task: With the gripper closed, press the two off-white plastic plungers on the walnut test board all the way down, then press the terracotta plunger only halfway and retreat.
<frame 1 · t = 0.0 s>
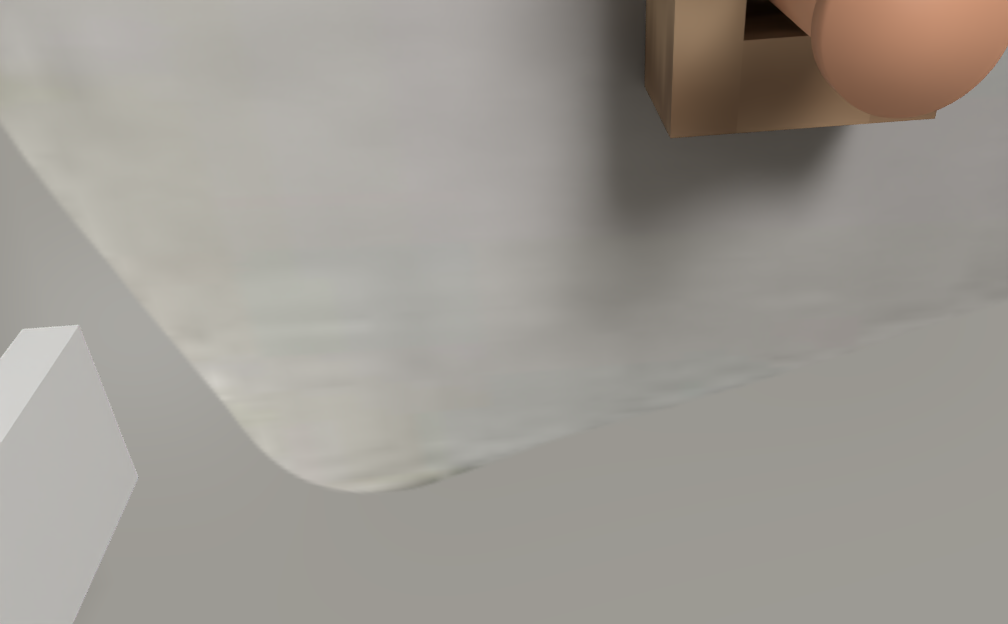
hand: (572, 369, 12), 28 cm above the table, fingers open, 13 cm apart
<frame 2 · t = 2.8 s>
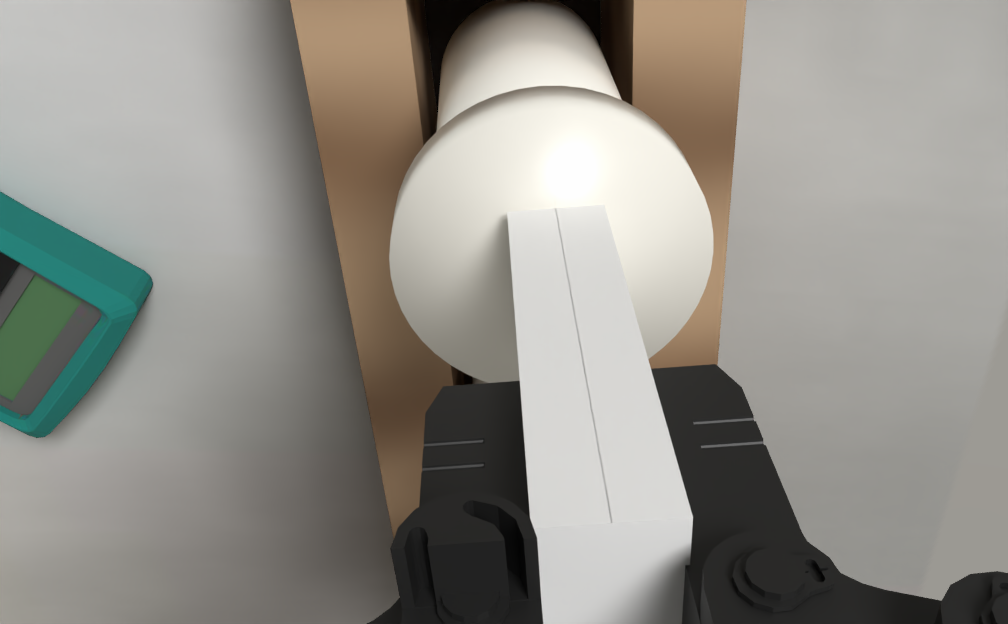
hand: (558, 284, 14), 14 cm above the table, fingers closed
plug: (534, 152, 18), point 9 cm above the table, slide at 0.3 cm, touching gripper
test board: (529, 288, 31), on the table
plug mid: (551, 484, 23), point 10 cm above the table, slide at 0.0 cm
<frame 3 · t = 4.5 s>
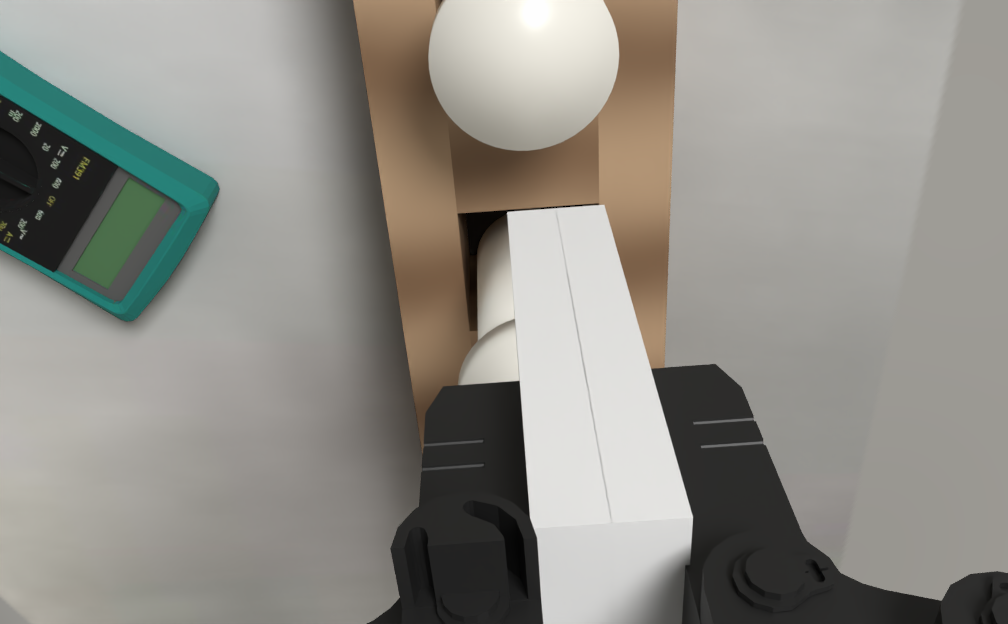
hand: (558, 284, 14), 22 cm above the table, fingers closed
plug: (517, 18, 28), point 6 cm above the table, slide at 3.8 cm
test board: (523, 199, 38), on the table
digital multimeter: (29, 145, 37), on the table
plug mid: (537, 322, 30), point 10 cm above the table, slide at 0.0 cm
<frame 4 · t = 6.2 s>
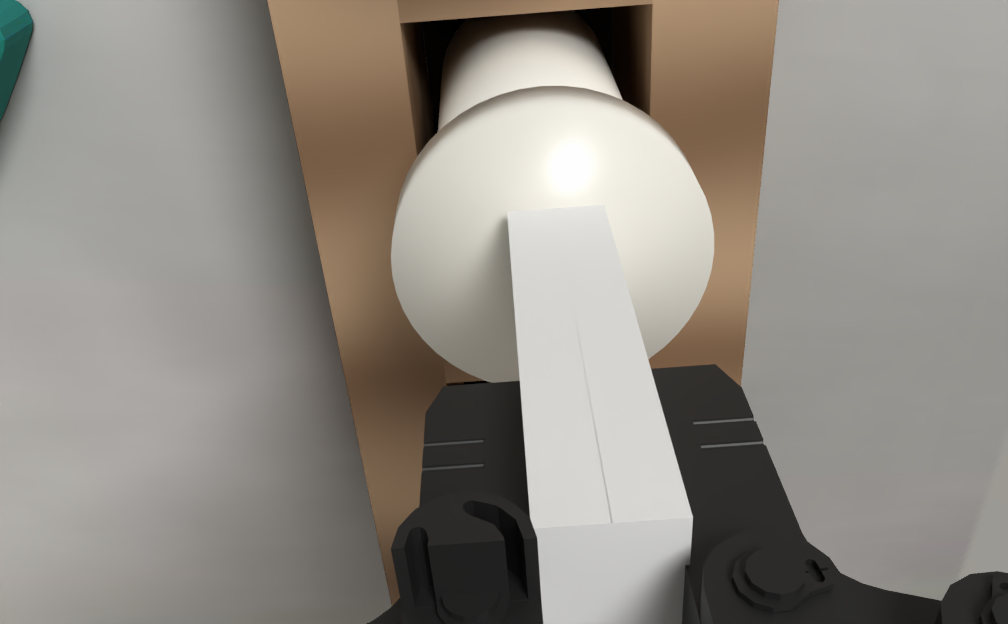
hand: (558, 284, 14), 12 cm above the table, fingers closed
test board: (518, 47, 24), on the table
plug mid: (535, 152, 18), point 7 cm above the table, slide at 2.5 cm, touching gripper
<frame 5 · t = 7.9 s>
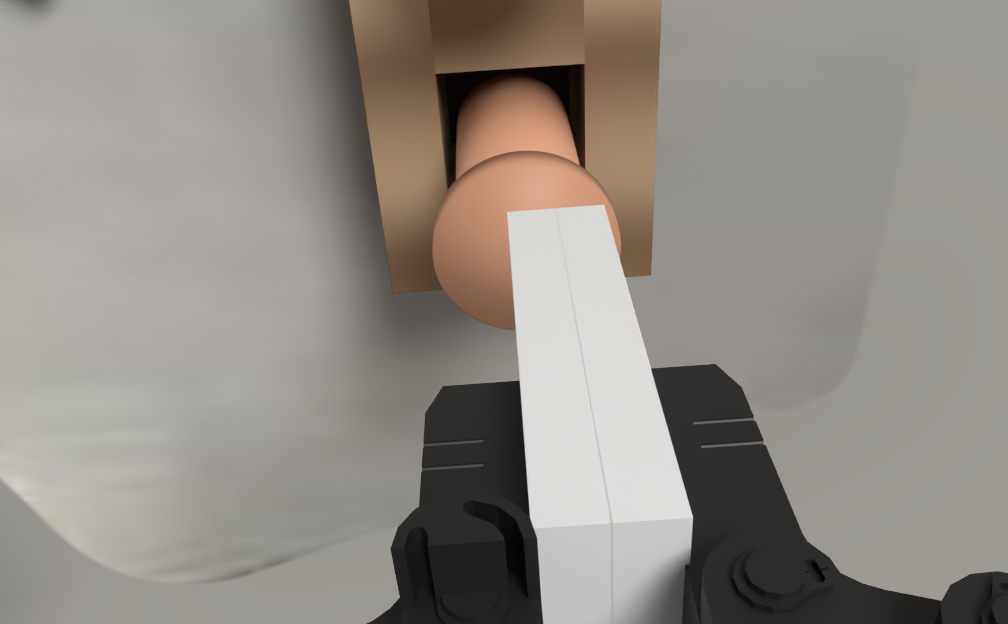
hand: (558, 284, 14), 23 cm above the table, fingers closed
plug terracotta: (518, 182, 29), point 10 cm above the table, slide at 0.0 cm
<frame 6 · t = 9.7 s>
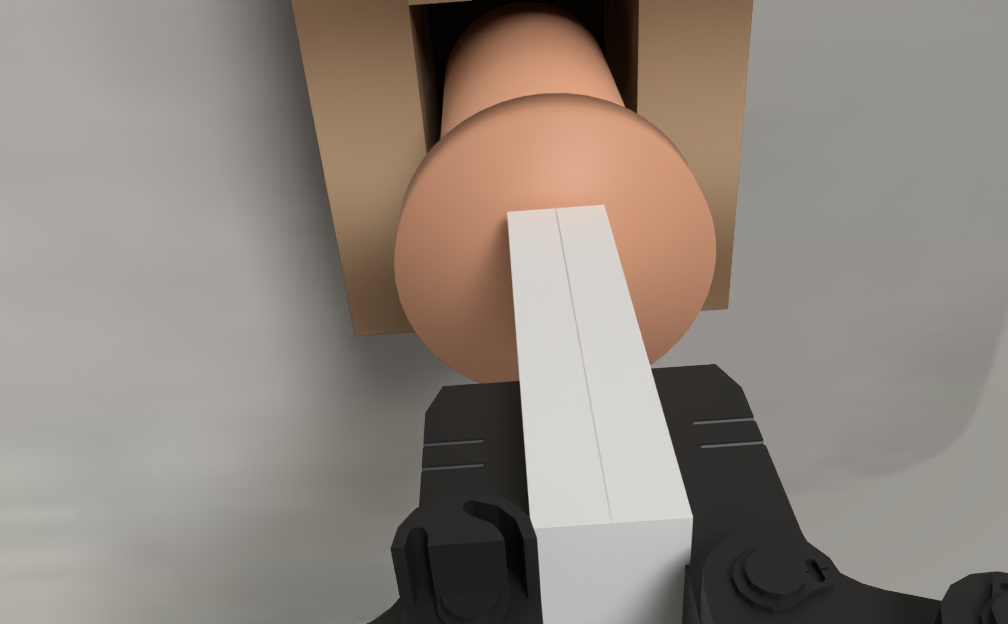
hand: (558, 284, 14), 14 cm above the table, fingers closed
plug terracotta: (537, 158, 18), point 9 cm above the table, slide at 0.6 cm, touching gripper
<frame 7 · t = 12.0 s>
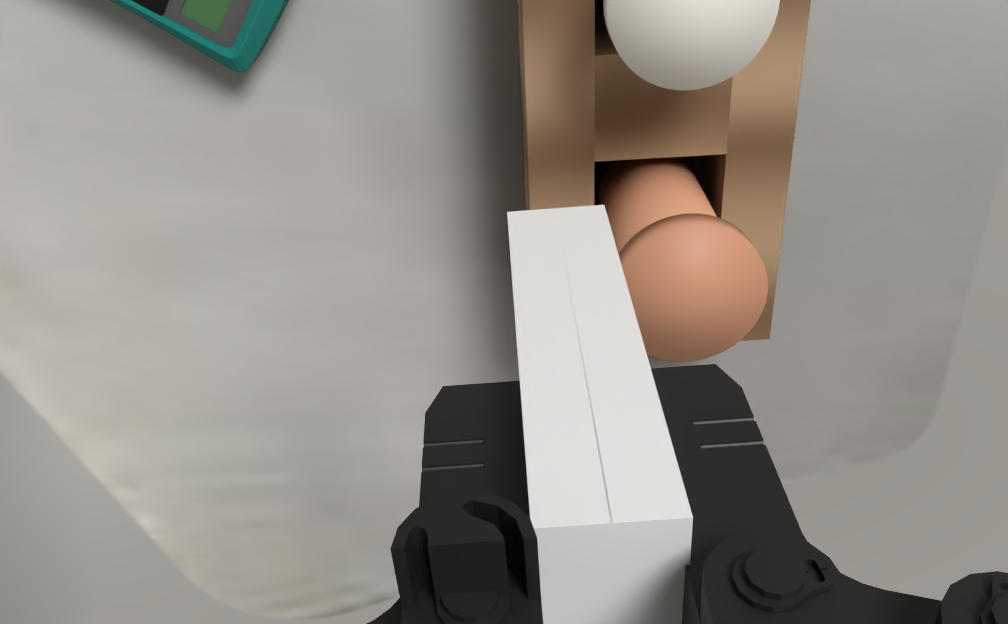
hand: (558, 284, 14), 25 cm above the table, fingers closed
plug terracotta: (665, 237, 34), point 8 cm above the table, slide at 1.8 cm
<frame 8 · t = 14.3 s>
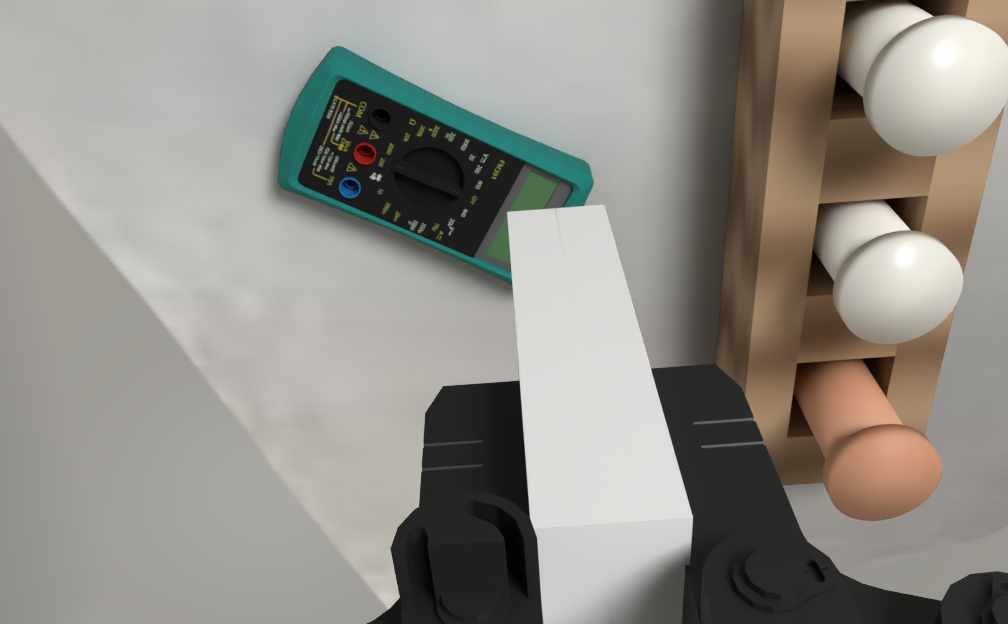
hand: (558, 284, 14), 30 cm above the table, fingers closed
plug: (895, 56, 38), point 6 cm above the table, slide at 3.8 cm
test board: (823, 193, 47), on the table
digital multimeter: (438, 162, 46), on the table
plug terracotta: (851, 419, 46), point 8 cm above the table, slide at 1.8 cm
plug mid: (863, 244, 43), point 6 cm above the table, slide at 3.8 cm
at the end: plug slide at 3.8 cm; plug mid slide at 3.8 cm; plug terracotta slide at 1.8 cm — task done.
